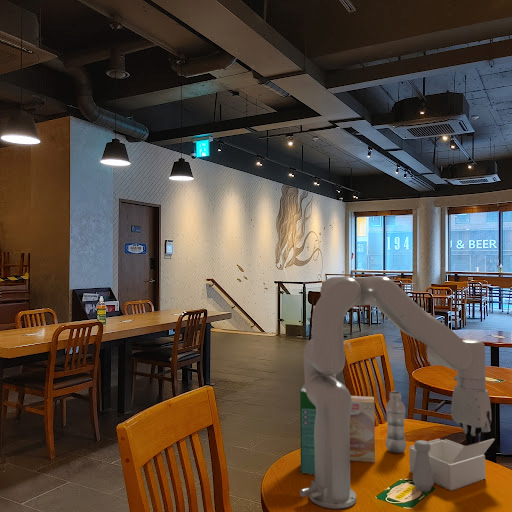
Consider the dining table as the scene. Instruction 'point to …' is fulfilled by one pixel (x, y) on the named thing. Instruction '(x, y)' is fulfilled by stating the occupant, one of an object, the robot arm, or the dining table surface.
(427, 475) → the salt shaker
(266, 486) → the dining table surface
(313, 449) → the milk carton
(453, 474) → the carton
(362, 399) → the coffeecake box
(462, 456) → the flap
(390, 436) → the plastic bottle
